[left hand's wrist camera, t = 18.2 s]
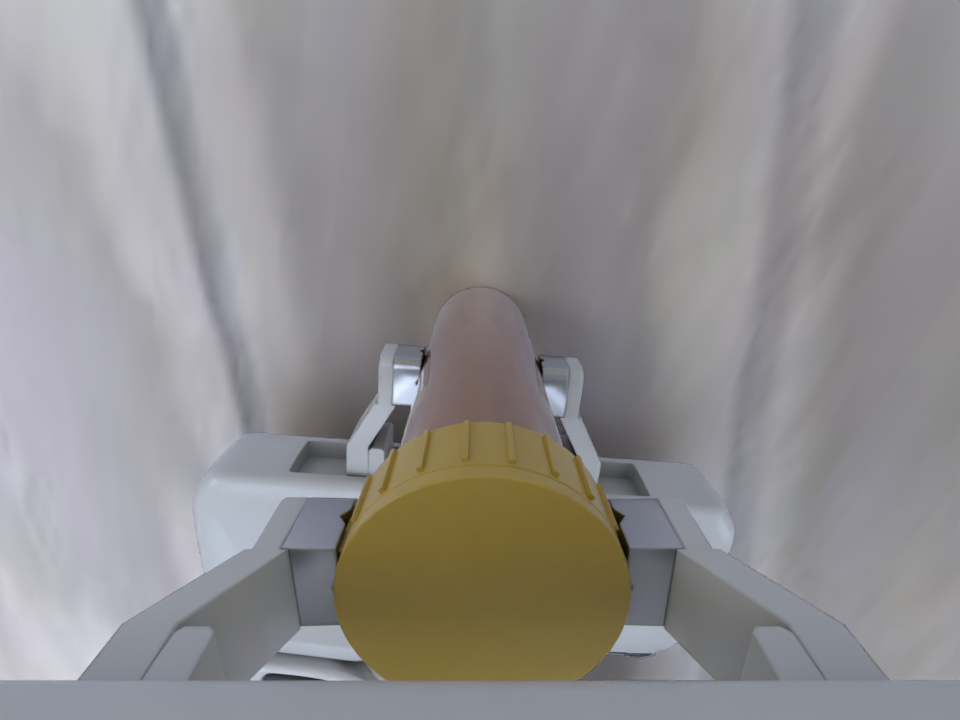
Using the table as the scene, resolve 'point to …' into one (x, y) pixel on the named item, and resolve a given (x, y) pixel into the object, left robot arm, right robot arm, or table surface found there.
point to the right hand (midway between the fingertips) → (481, 354)
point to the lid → (482, 560)
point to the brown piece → (480, 369)
